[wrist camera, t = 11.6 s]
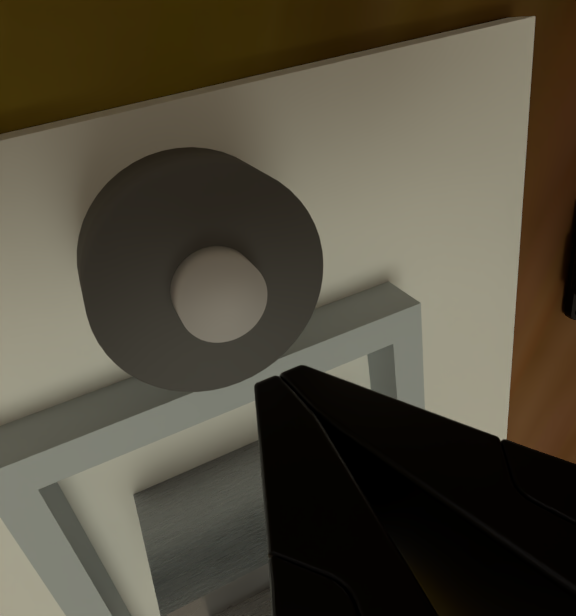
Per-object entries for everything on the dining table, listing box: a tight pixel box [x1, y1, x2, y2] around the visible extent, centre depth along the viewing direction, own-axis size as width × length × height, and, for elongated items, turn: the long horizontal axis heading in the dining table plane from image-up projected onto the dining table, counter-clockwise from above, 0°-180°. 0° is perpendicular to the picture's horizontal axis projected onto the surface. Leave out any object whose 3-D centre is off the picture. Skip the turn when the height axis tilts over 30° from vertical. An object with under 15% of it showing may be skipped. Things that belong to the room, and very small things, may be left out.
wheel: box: [77, 147, 323, 392], centre depth 13 cm, size 6×6×3 cm
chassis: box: [0, 16, 535, 616], centre depth 19 cm, size 27×22×3 cm
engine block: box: [133, 440, 271, 616], centre depth 19 cm, size 8×5×6 cm, turn 100°
